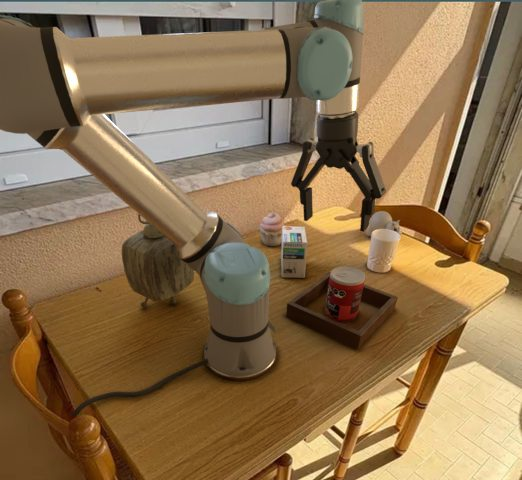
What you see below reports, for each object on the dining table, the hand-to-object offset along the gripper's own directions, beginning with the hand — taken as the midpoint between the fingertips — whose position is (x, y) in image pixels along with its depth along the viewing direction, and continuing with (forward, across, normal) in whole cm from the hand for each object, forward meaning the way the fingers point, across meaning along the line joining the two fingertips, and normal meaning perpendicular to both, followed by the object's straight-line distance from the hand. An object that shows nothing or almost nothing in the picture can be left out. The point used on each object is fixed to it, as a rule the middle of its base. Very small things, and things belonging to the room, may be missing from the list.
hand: (335, 223), depth 84 cm
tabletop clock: (+16, +34, +25) cm, 45 cm away
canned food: (+21, -4, +4) cm, 22 cm away
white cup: (+24, -2, -24) cm, 34 cm away
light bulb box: (+21, +17, -8) cm, 28 cm away
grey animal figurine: (+26, +4, -42) cm, 49 cm away
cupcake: (+21, +32, -19) cm, 42 cm away
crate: (+21, -4, +4) cm, 22 cm away
